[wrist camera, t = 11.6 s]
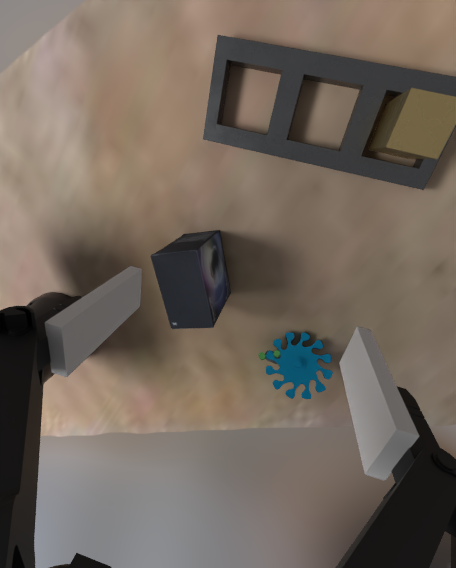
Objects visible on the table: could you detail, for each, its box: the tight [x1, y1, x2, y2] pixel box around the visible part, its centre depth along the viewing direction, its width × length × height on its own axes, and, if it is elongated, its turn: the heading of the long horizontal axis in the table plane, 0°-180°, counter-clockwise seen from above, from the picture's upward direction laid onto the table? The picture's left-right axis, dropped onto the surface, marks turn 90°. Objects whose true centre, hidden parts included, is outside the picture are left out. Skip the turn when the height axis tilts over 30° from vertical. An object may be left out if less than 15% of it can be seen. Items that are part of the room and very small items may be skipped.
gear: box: [259, 332, 333, 399], centre depth 44 cm, size 11×6×10 cm
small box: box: [151, 230, 231, 329], centre depth 38 cm, size 11×6×10 cm, turn 10°
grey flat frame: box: [203, 35, 456, 190], centre depth 31 cm, size 26×10×2 cm, turn 78°
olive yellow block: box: [367, 88, 456, 159], centre depth 27 cm, size 4×4×8 cm
